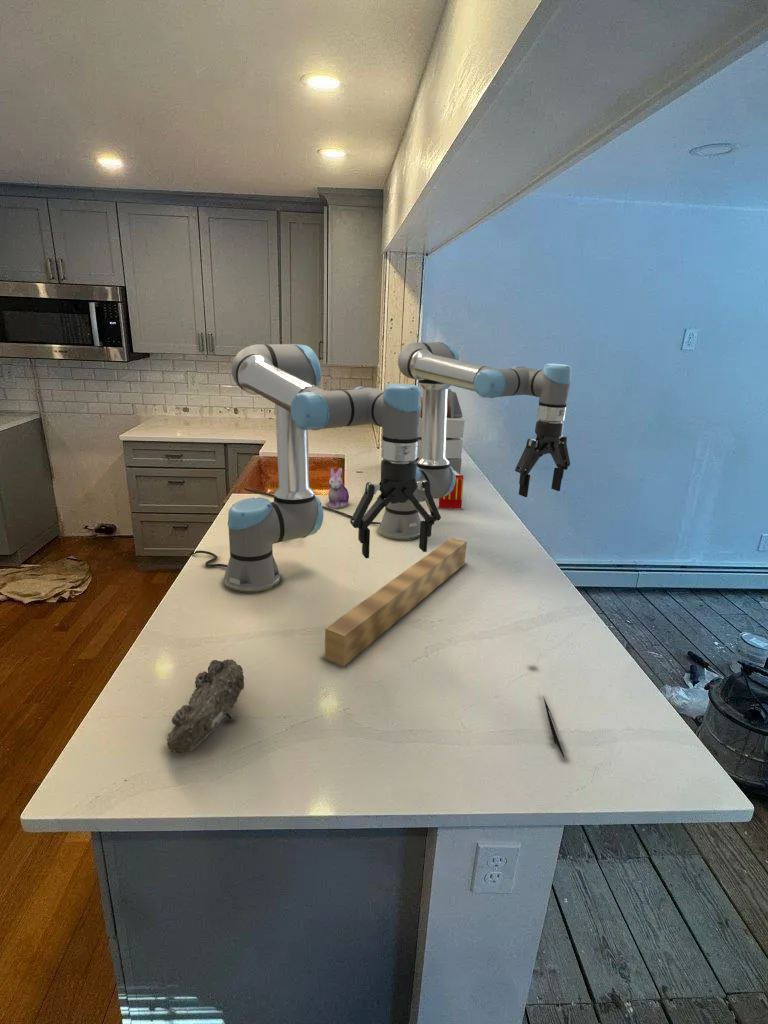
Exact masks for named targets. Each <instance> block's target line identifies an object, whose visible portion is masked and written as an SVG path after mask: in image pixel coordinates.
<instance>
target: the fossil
mask: <svg viewBox="0 0 768 1024" xmlns="http://www.w3.org/2000/svg"><path fill="white" fill-rule="evenodd" d="M243 670H244V669H243V667H242V665H240V664H237V662H236V661H235V660H234V659H232V658H231V659H227V658H226V659H224V660H223V661H222V660H217V659H212V660H211V661H210V663H209V665H208V666H207V671H201V672H199V673H198V674H197V675H196V676H195V680H194V684H195V685H194V687H195V689H194V690H193V693H192V694H191V697H190V698H189V700H188V704H184V705H182V706H181V707H180V709H177V710H176V711H175V713H174V715H173V716H172V718H171V723H172V724H173V727H172V730H171V731H170V732H168V734H167V738H166V741H167V742H166V745H167V749H168V750H169V751H173V752H174V753H176V754H178V753H182V752H188V751H189V752H192V751H193V750H195V748H196V747H197V746H199V744H200V743H201V742H203V741H204V740H205V739H206V738H207V737H208V736H209V735H210V734H211V733H212V732H214V730H215V729H217V727H218V726H219V724H220V722H221V721H222V720H223V719H224V718H225V716H226V717H227V719H229V720H233V717H232V715H230V714H229V710H230V709H231V708H234V706H235V704H236V703H237V702H238V699H239V697H240V695H241V693H242V691H243V690H245V689H244V688H245V675H244V671H243Z"/></svg>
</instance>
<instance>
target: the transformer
mask: <svg viewBox="0 0 768 1024" xmlns="http://www.w3.org/2000/svg"><path fill="white" fill-rule="evenodd" d="M422 399H423V396H421V410H420V422H419V436H418V454H417V459H416V460H415V461H416V462H417V461H418V460H419V459H420V458H421V444H422ZM464 429H465V419H464V418H463V411H462V408H461V405H460V402H459V398H458V395H457V392H455V391H453V390H452V389H451V388H448V396H447V424H446V452H445V457H446V459H447V460H448V461H449V466H451V467H452V469H453V471H456V472H457V473H458V474H459V475H462V474H461V472H462V461H463V460H462V453H463V442H464V441H463V440H462V439H463V438H464V431H465V430H464Z"/></svg>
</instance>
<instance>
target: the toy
mask: <svg viewBox="0 0 768 1024" xmlns="http://www.w3.org/2000/svg"><path fill="white" fill-rule="evenodd" d="M453 472H454V473H455V477H456V481H455V486H454V488H453V490H452V491H451V492H450V493H449V494H448V495H446V496H443V497H441V498H438V509H459V510H460V509H462V507H463V493H464V492H463V491H464V480H465V479H464V475H462V474H460V475H459V474H458V473H457V472H456V471H453Z"/></svg>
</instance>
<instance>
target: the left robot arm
mask: <svg viewBox="0 0 768 1024" xmlns="http://www.w3.org/2000/svg"><path fill="white" fill-rule="evenodd" d="M321 368H322V367H321V364H320V361H319V358H318V356H317V354H316V352H315V351H314V349H312V348H311V347H310V346H309V345H306V344H296V343H288V344H287V343H284V344H283V343H281V344H274V343H273V344H262V343H260V344H259V343H258V344H257V343H256V344H251V345H248V346H245V347H244V348H243V349H241V350H240V351H239V352H238V353H237V354H236V355H235V356H234V357H233V360H232V362H231V376H232V379H233V381H234V382H235V384H236V386H238V387H239V388H240V389H241V390H243V391H244V392H246V393H247V394H249V395H252V396H253V395H255V396H258V395H259V396H261V397H263V398H265V399H266V400H268V401H270V402H272V403H273V404H275V426H276V427H275V430H276V451H277V475H278V487H277V489H276V490H274V492H273V495H274V496H273V501H271V500H269V498H265V497H249V498H245V499H242V500H239V501H236V502H235V503H234V504H232V506H230V508H229V509H228V513H227V515H228V516H227V517H228V518H227V528H228V540H229V541H228V543H229V559H228V563H227V564H224V563H212V562H214V561H216V560H217V559H218V556H217V555H216V554H215V553H213V552H210V551H207V550H193V551H191V553H189V556H193V555H196V554H206V555H210V556H212V557H213V558H211V559H209V560H207V561H205V562H204V563H205V567H207V568H213V567H223V568H226V569H225V572H224V584H225V586H226V587H227V588H228V589H230V590H232V591H234V592H238V593H245V594H246V593H247V594H248V593H260V592H266V591H268V590H270V589H272V588H274V587H276V586H277V585H278V584H279V583H280V580H281V577H280V575H281V574H280V570H279V567H278V565H277V562H276V559H275V557H274V553H273V545H274V544H278V543H283V542H288V541H292V540H297V539H304V538H307V537H310V536H313V535H316V534H317V533H318V532H319V530H321V527H322V525H323V523H324V508H323V507H322V506H323V505H322V501H321V500H320V497H318V496H317V495H316V493H315V491H314V490H313V488H311V487H310V463H309V462H310V459H309V431H320V430H325V429H326V430H327V429H335V428H344V427H355V426H365V425H374V426H376V427H380V428H382V435H381V439H382V440H381V458H382V460H381V462H380V480H379V483H372V482H370V481H367V482H366V483H365V487H364V493H363V495H362V497H361V499H360V501H359V503H358V504H357V506H356V509H355V510H354V512H353V514H352V515H351V516H352V518H351V517H350V520H349V523H350V525H351V526H352V527H353V528H355V529H358V531H357V532H358V534H357V535H358V538H357V539H358V541H359V543H360V544H361V555H363V557H364V558H365V559H369V558H370V543H371V539H370V538H371V530H370V528H369V526H370V525H372V524H371V522H374V520H375V519H376V518H377V517H378V515H379V514H380V513H381V512H382V511H383V509H384V508H385V506H387V505H388V504H389V502H390V503H392V504H395V503H398V502H400V503H406V501H408V500H409V501H410V503H411V504H412V505H413V506H414V507H415V509H416V510H417V511H418V514H419V516H421V517H422V518H423V520H420V522H421V524H420V537H419V540H418V548H419V549H420V550H421V551H422V552H423V553H427V551H428V539H429V537H431V536H432V529H433V525H435V522H436V521H440V520H441V519H442V516H441V514H440V512H439V508H438V506H437V504H436V502H435V499H433V497H432V495H431V493H430V483H429V482H428V481H426V480H425V479H421V480H420V481H417V482H416V471H417V462H416V461H415V460H416V459H417V454H418V436H419V422H420V410H421V397H422V395H421V393H422V391H421V389H420V387H419V386H418V385H415V384H410V383H409V384H408V383H388V384H386V385H385V386H384V389H378V388H375V387H373V386H357V387H355V388H353V389H342V390H341V389H340V390H325V389H322V388H320V387H319V386H320V382H321V381H322V369H321ZM417 487H418V489H419V490H421V492H422V494H423V497H424V499H425V501H424V502H425V504H426V506H427V508H428V510H429V513H430V514H429V513H428V512H427V510H426V509H425V508H424V507H423V505H422V504H421V502H418V500H417V499H416V498H415V497H414V495H413V493H414V492H415V490H416V489H417ZM378 491H379V493H380V494H379V495H378V497H376V500H375V502H374V503H373V504H372V505H371V503H372V501H373V499H374V496H375V495H376V494H377V492H378ZM370 505H371V506H370ZM369 506H370V508H369ZM195 551H196V552H195ZM194 552H195V553H194Z"/></svg>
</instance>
